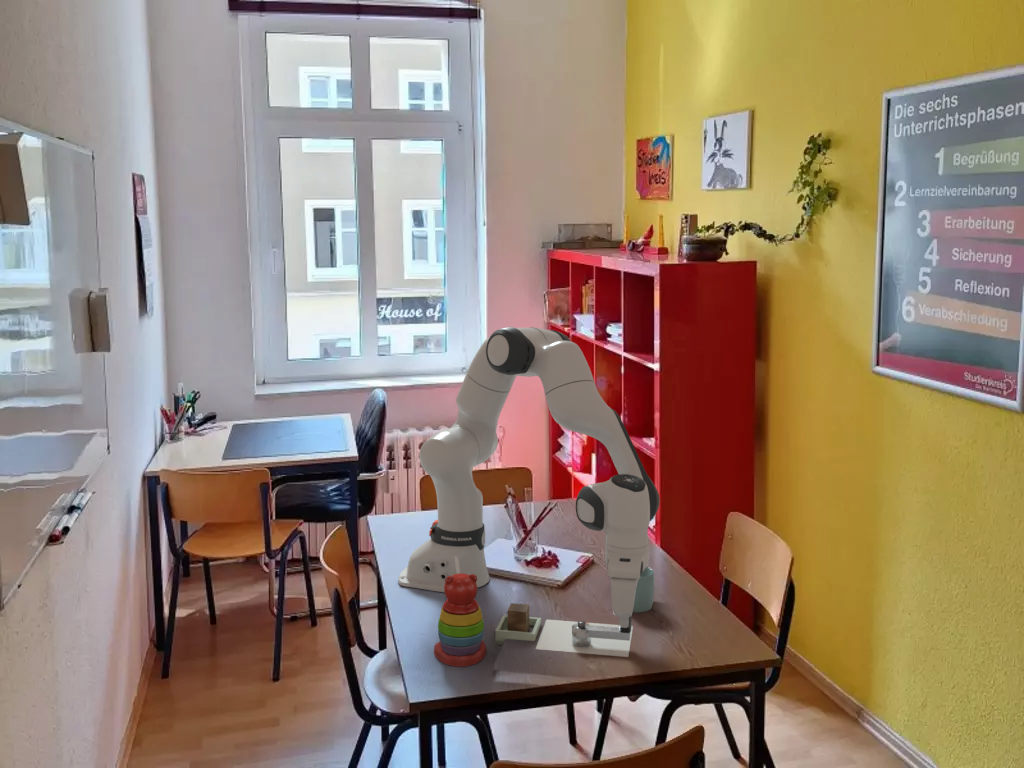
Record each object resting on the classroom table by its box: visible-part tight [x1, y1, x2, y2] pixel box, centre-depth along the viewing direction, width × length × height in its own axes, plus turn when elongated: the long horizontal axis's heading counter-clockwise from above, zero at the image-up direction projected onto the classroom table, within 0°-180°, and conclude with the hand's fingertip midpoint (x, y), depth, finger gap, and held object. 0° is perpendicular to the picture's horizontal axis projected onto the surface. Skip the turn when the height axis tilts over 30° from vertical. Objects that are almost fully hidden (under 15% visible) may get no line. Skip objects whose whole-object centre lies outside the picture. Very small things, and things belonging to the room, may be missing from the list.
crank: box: [572, 616, 632, 647], centre depth 201 cm, size 12×4×8 cm, turn 79°
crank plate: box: [535, 619, 634, 658], centre depth 205 cm, size 19×15×2 cm
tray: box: [494, 614, 542, 646], centre depth 208 cm, size 8×8×3 cm
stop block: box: [507, 602, 530, 632], centre depth 208 cm, size 4×4×6 cm
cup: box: [632, 566, 656, 613], centre depth 221 cm, size 8×8×10 cm
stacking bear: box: [433, 573, 487, 668], centre depth 198 cm, size 11×10×18 cm
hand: (625, 619), depth 199 cm, fingers open, 5 cm apart
